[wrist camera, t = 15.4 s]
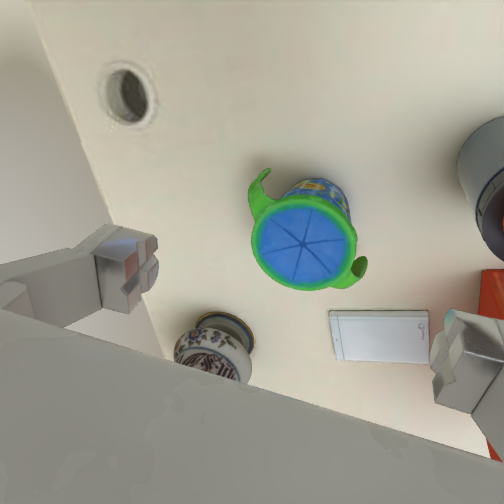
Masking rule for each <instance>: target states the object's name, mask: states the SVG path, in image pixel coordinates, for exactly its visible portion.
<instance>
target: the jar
mask: <svg viewBox="0 0 504 504" xmlns="http://www.w3.org/2000/svg"><path fill="white" fill-rule="evenodd" d="M456 168H457V175H458V179H459V181H460V184H461V186H462V189H463V191H464V194H465V196H466V199H467V201H468V204H469V206H470V209H471V211H472V214H473V216H474V219H475V221H476V224H477V226H478V229H479V231H480V232H481V230H480V227H479V224H478V217H477V213H478V210H477V208H478V206H479V202H480V199H481V197H482V195H483V193H484V191H485V189H486V188H487V186H488V185H489V184H490V181H492V180H493V179H494V178H495V177H496V176H497V175H498V174H500V173H501V172H502V171H503V170H504V116H503V117H499V118H497V119H494V120H492V121H490V122H488V123H486V124H484V125H483V126H481V127H480V128H478V129H477V130H476V131H475V132H474V133H473V134H472V135H471V136H470V137H469V138H468V139H467V140H466V142H465V143H464V145H463V146H462V148H461V150H460V153H459V155H458V159H457V167H456ZM481 233H482V232H481Z"/></svg>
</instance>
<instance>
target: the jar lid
mask: <svg viewBox="0 0 504 504" xmlns="http://www.w3.org/2000/svg"><path fill="white" fill-rule="evenodd" d="M477 210H478V213H477V217H478V224H479V227H480V230H481V232H482V233H481V235H482V237H483V240H484V241H485V242H486V244H487V246H488V247H489V249H490V250H491V251H492V252H493V253H494V255H496V256H497V257H498V258H499V259H501V260H502V261H504V232H503V226H502V223H503V217H504V170H503V171H502V172H501V173H500V174H498V175H497V176H496V177H495V178H494V179H493V180H492V181H490V184H489V185H488V186H487V188H486V189H485V191H484V193H483V195H482V197H481V199H480V202H479V206H478V208H477Z"/></svg>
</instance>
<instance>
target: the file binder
mask: <svg viewBox="0 0 504 504" xmlns="http://www.w3.org/2000/svg"><path fill="white" fill-rule="evenodd" d="M478 315H481V316H485V317H489V318H496V319H501V320H504V270H486V271H482V280H481V289H480V299H479V309H478ZM486 440H487V438H486ZM487 445H488V449H489V453H490V457H491V459H493V460H497V461H500V462H503V461H502V460H501V459H500V457H499V456H498V454H497V453H496V451H495V450H494V448H493V447H492V446H491V444H490V443H489V441H488V440H487Z"/></svg>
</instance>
